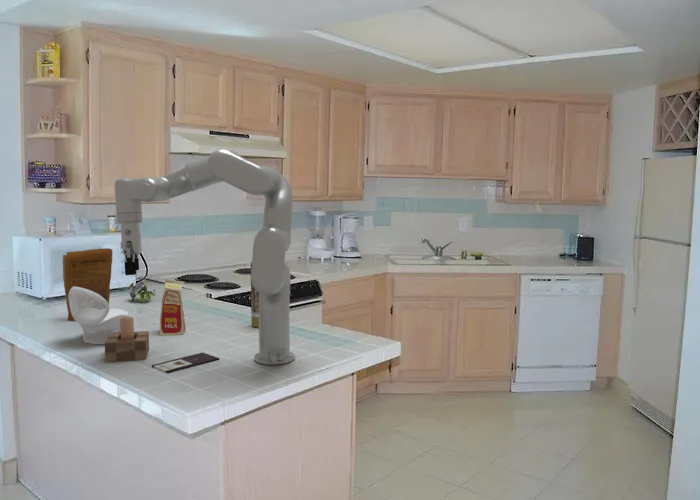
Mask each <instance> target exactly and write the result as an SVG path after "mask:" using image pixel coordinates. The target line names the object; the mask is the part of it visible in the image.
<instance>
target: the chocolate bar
mask: <svg viewBox="0 0 700 500" xmlns="http://www.w3.org/2000/svg"><path fill="white" fill-rule="evenodd" d="M219 360H220V358H219V357H216V356H215V355H211V354H208V353H206V352H199V353H195V354H191V355H187V356H183V357H179V358H175V359H172V360H171V359H170V360H167V361H163V362H157V363H154V364H152V365H151V367H152V368H154V369H156V370H158V371H162V372H164V373H166V374H171V373H176V372H179V371H182V370H186V369H190V368H193V367H197V366H200V365H205V364H208V363H212V362H216V361H219Z"/></svg>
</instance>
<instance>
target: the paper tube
mask: <svg viewBox="0 0 700 500" xmlns="http://www.w3.org/2000/svg"><path fill="white" fill-rule="evenodd" d="M251 272H252V260H250V273H251ZM250 305H251V306H250V311H251V312H250V316H251V318H250V319H251V320H250V321H251V322H250V323H251V326H252V327H253V328H259V293H258V292H257V291H256V290H255V289H254V287H253V285H252V280H251V279H250Z"/></svg>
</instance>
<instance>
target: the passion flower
mask: <svg viewBox="0 0 700 500" xmlns="http://www.w3.org/2000/svg"><path fill="white" fill-rule="evenodd" d="M134 284H135V282H132V283H130V284H129V286H128V288H127V289H128V290H129V289H131V288H132V289H131V290H130V292H129V297H130V298H131V300H130V302H134V301H135V298H136V297H137V295H138V296H139V300H140V302H141V304H145V303H144V302H148V301H151V299H152V296H153V297H155V295H156V289H153V290H151V291H148V290H147V286H146V278H145V279H143V280H141V281H139V282H138V283H137V284H135V285H134Z"/></svg>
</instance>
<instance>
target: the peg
mask: <svg viewBox="0 0 700 500" xmlns="http://www.w3.org/2000/svg"><path fill="white" fill-rule="evenodd" d="M134 319H135V318H134V317H133V316H129V317H123V318H120V329H119V330H121V339H134V332H135V324H134V323H135V321H134Z"/></svg>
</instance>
